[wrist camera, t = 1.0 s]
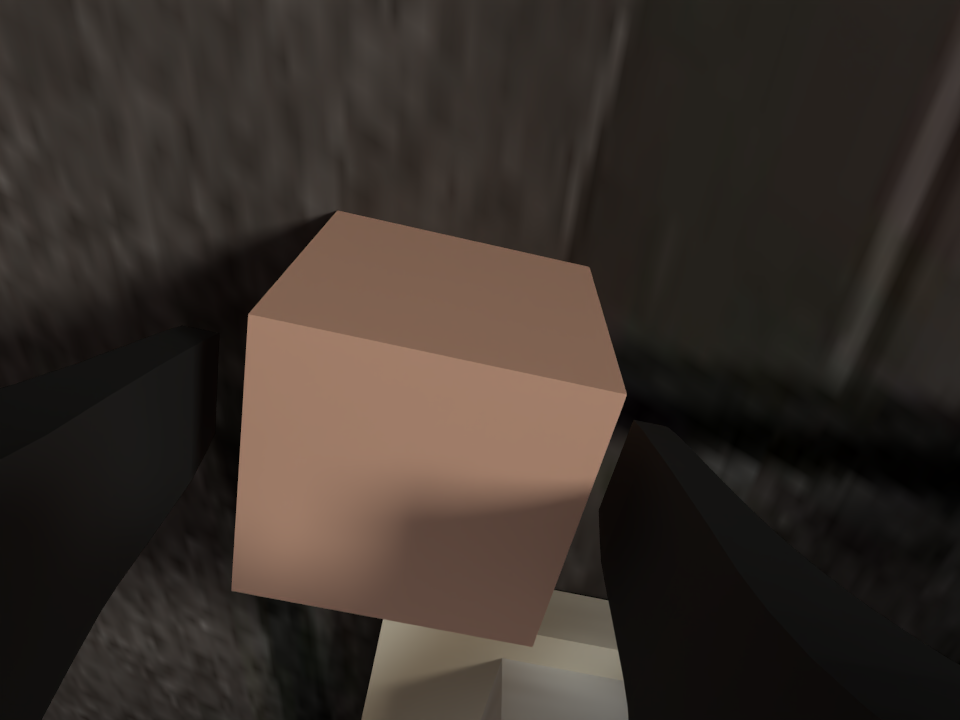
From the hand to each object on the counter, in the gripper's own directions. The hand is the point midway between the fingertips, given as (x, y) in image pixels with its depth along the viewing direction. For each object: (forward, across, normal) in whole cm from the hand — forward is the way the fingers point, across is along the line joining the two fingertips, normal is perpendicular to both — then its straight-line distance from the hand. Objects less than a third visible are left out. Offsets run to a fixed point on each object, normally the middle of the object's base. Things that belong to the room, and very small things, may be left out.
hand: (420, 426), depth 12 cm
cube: (+3, 0, 0) cm, 3 cm away
